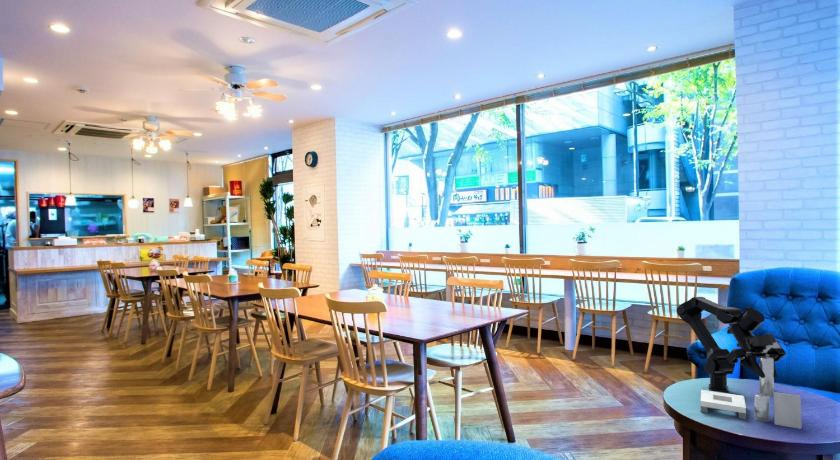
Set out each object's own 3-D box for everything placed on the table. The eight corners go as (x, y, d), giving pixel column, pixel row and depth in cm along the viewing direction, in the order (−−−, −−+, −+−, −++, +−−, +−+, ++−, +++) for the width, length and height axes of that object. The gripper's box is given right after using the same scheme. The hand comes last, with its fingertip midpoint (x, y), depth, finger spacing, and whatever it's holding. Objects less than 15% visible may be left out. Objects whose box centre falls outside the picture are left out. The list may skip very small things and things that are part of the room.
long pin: (759, 392, 167) (758, 355, 167) (773, 394, 165) (772, 357, 165) (760, 395, 163) (759, 358, 163) (774, 398, 161) (774, 359, 161)
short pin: (754, 416, 160) (753, 392, 160) (768, 418, 158) (768, 394, 158) (755, 420, 157) (754, 396, 157) (770, 422, 155) (769, 398, 155)
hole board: (701, 400, 176) (701, 389, 176) (743, 406, 169) (743, 395, 169) (700, 411, 164) (700, 400, 164) (746, 419, 158) (745, 407, 158)
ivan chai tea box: (801, 429, 150) (801, 397, 150) (774, 424, 153) (774, 393, 153) (800, 425, 153) (799, 394, 153) (774, 420, 157) (773, 390, 156)
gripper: (732, 326, 167) (756, 366, 156) (781, 324, 169) (809, 364, 158) (716, 343, 175) (739, 382, 164) (764, 341, 176) (789, 380, 165)
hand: (769, 377), depth 163 cm, fingers closed on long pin, 4 cm apart
